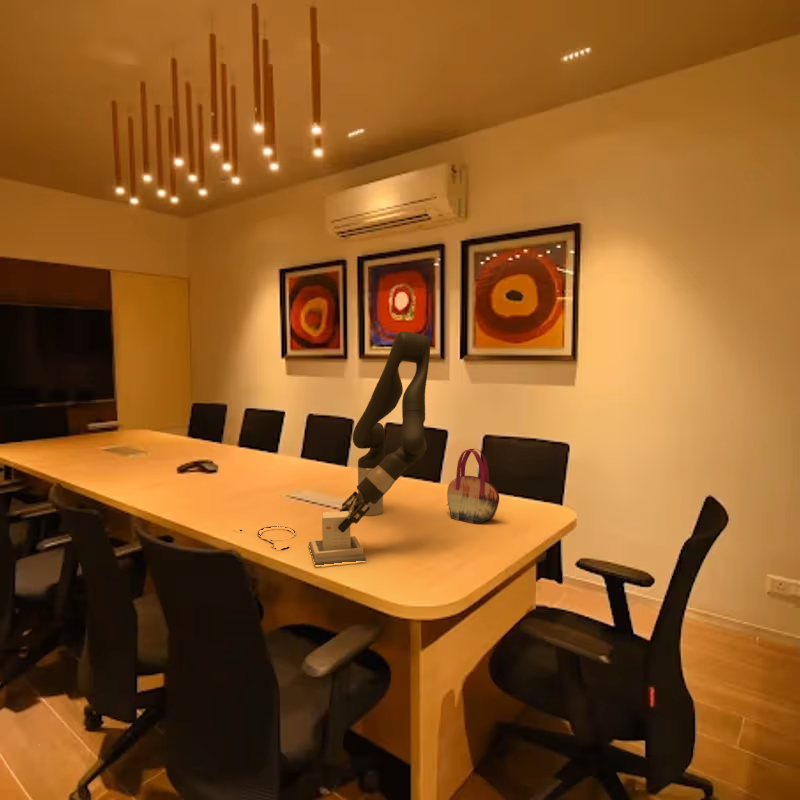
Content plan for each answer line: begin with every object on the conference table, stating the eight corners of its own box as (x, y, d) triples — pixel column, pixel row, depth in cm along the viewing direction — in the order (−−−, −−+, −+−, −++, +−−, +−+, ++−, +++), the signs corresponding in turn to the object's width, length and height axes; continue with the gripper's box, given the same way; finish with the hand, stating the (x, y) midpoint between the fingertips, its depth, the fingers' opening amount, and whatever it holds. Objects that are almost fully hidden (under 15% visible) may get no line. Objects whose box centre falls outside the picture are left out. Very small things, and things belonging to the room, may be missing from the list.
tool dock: (308, 546, 162) (308, 537, 162) (354, 542, 166) (354, 533, 165) (315, 568, 146) (315, 557, 145) (365, 562, 149) (365, 552, 149)
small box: (349, 545, 159) (349, 510, 158) (350, 552, 153) (350, 516, 152) (322, 546, 157) (322, 511, 157) (322, 553, 152) (322, 517, 151)
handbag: (438, 516, 193) (439, 447, 192) (453, 510, 201) (454, 444, 199) (491, 527, 180) (492, 454, 178) (505, 520, 188) (506, 450, 186)
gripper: (362, 471, 163) (325, 510, 161) (372, 481, 149) (332, 525, 147) (379, 487, 165) (342, 526, 163) (391, 498, 151) (351, 542, 149)
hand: (337, 525), depth 155 cm, fingers open, 8 cm apart
